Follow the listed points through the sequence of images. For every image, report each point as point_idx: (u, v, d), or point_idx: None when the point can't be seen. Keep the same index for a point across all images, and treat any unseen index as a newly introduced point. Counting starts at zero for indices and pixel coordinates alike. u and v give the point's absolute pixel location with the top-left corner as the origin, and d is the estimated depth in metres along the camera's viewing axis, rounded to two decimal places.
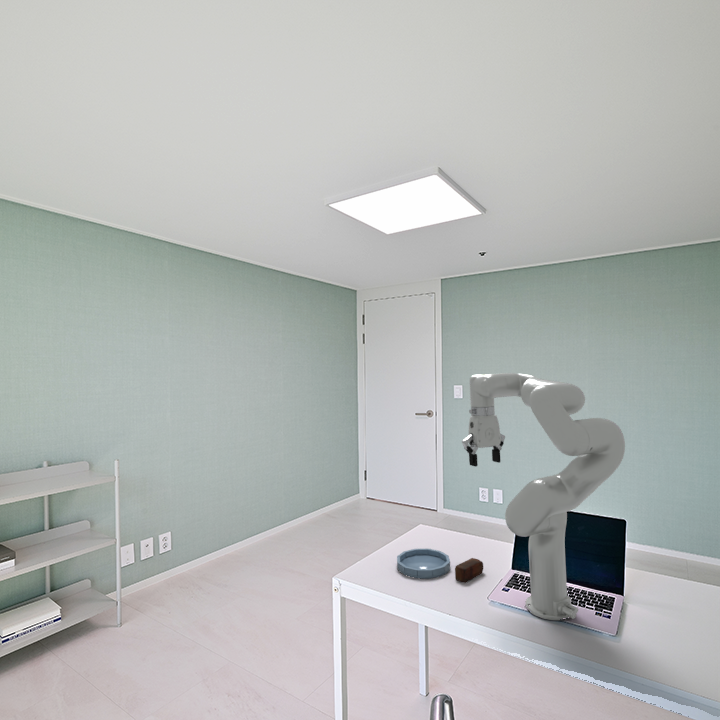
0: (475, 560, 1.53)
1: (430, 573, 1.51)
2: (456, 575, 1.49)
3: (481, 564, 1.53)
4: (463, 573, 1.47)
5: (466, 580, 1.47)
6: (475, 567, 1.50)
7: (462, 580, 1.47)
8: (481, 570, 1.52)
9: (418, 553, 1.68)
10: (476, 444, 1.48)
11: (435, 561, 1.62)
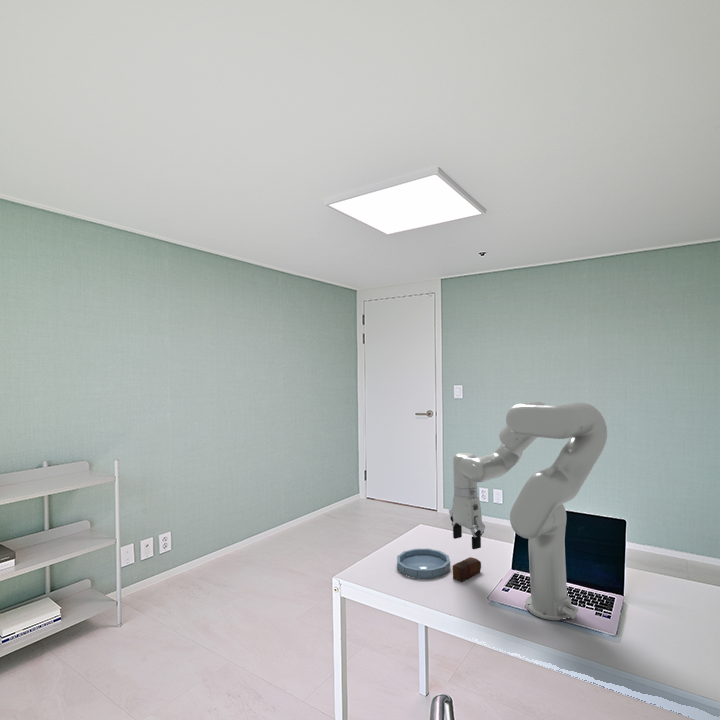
0: (473, 559, 1.54)
1: (430, 573, 1.51)
2: (453, 574, 1.49)
3: (479, 563, 1.53)
4: (460, 572, 1.48)
5: (463, 579, 1.48)
6: (473, 567, 1.51)
7: (459, 579, 1.48)
8: (479, 569, 1.53)
9: (418, 553, 1.68)
10: None
11: (435, 561, 1.62)
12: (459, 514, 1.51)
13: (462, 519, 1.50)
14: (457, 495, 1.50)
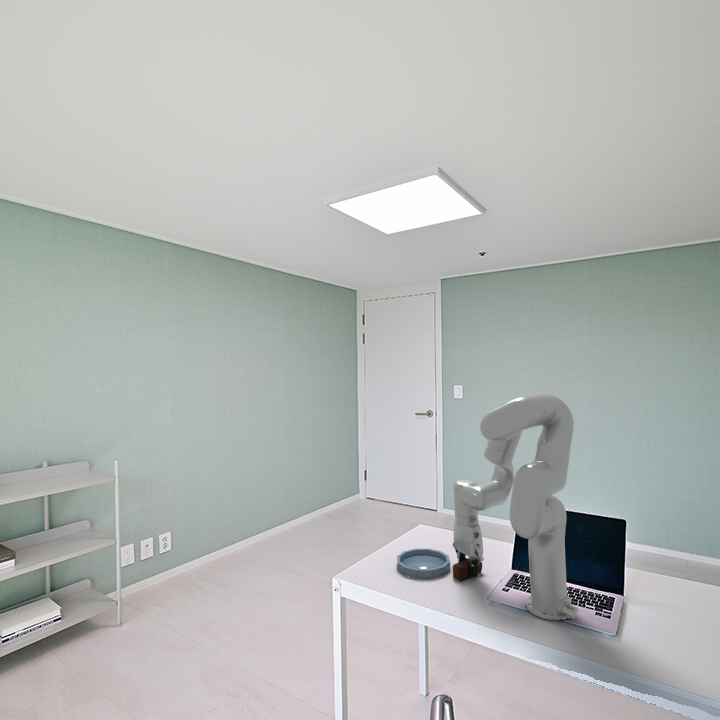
0: (474, 559, 1.53)
1: (430, 573, 1.51)
2: (454, 573, 1.49)
3: (480, 563, 1.53)
4: (460, 572, 1.47)
5: (463, 578, 1.47)
6: None
7: (459, 579, 1.47)
8: (480, 569, 1.52)
9: (418, 553, 1.68)
10: (482, 552, 1.48)
11: (435, 561, 1.62)
12: (460, 542, 1.51)
13: (463, 547, 1.50)
14: (458, 523, 1.50)
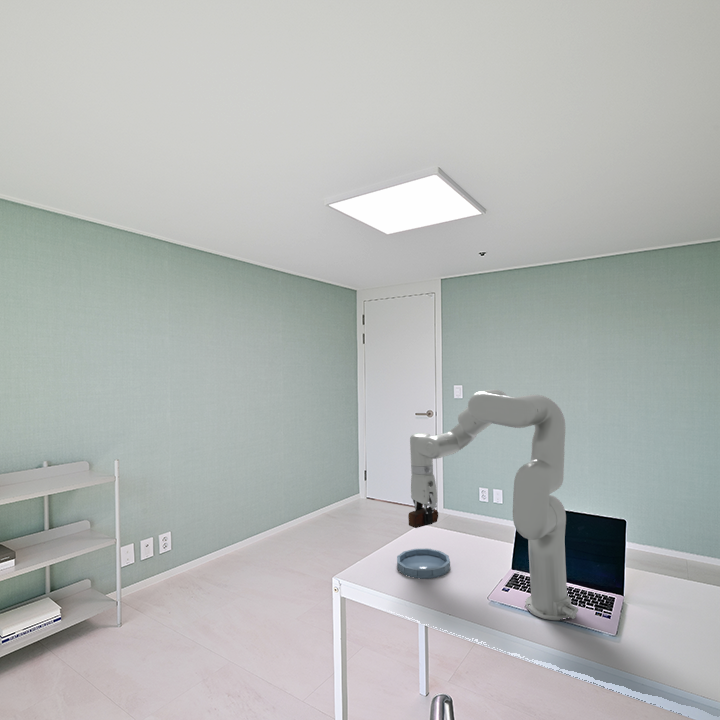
0: None
1: (430, 573, 1.51)
2: (409, 521, 1.57)
3: (436, 513, 1.60)
4: (414, 519, 1.55)
5: (418, 525, 1.55)
6: None
7: (414, 525, 1.56)
8: (435, 518, 1.60)
9: (418, 553, 1.68)
10: (436, 500, 1.56)
11: (435, 561, 1.62)
12: (416, 491, 1.59)
13: (419, 496, 1.58)
14: (413, 473, 1.58)
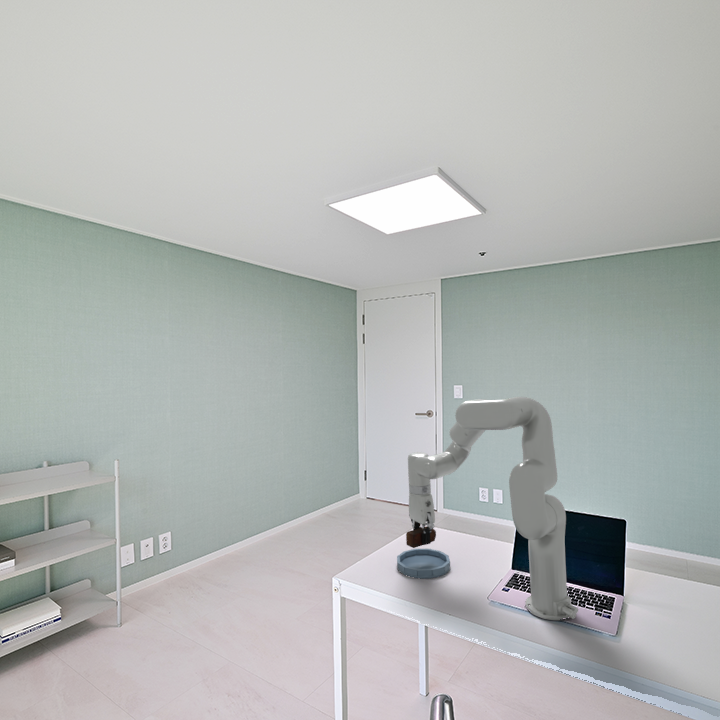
0: None
1: (430, 573, 1.51)
2: (407, 540, 1.58)
3: (433, 532, 1.61)
4: (412, 538, 1.56)
5: (415, 545, 1.56)
6: None
7: (411, 545, 1.56)
8: (433, 538, 1.61)
9: (418, 553, 1.68)
10: (434, 520, 1.56)
11: (435, 561, 1.62)
12: (414, 511, 1.59)
13: (416, 515, 1.58)
14: (411, 493, 1.58)
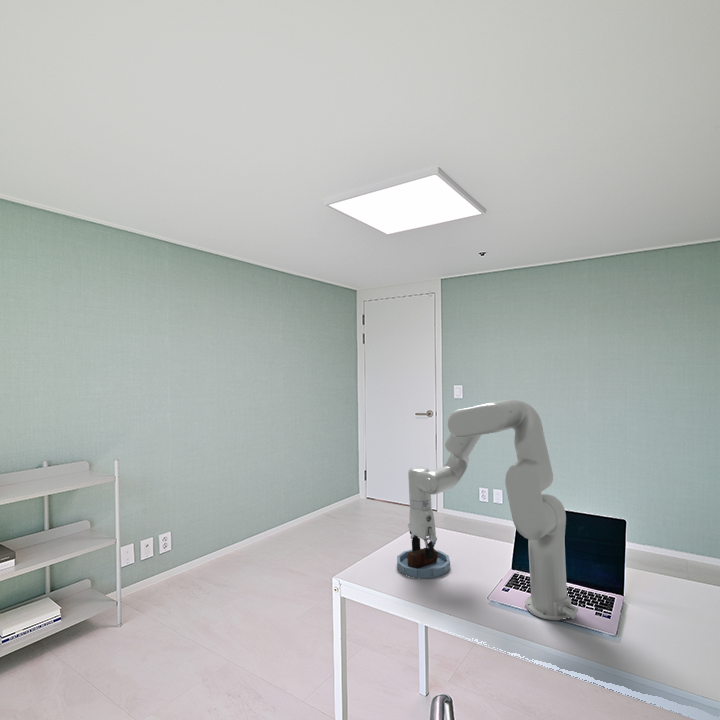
0: None
1: (430, 573, 1.51)
2: (408, 561, 1.58)
3: (435, 553, 1.60)
4: (413, 560, 1.56)
5: (416, 566, 1.56)
6: None
7: (412, 566, 1.56)
8: (435, 559, 1.60)
9: None
10: (434, 535, 1.56)
11: None
12: (415, 525, 1.59)
13: (417, 530, 1.58)
14: (412, 507, 1.58)
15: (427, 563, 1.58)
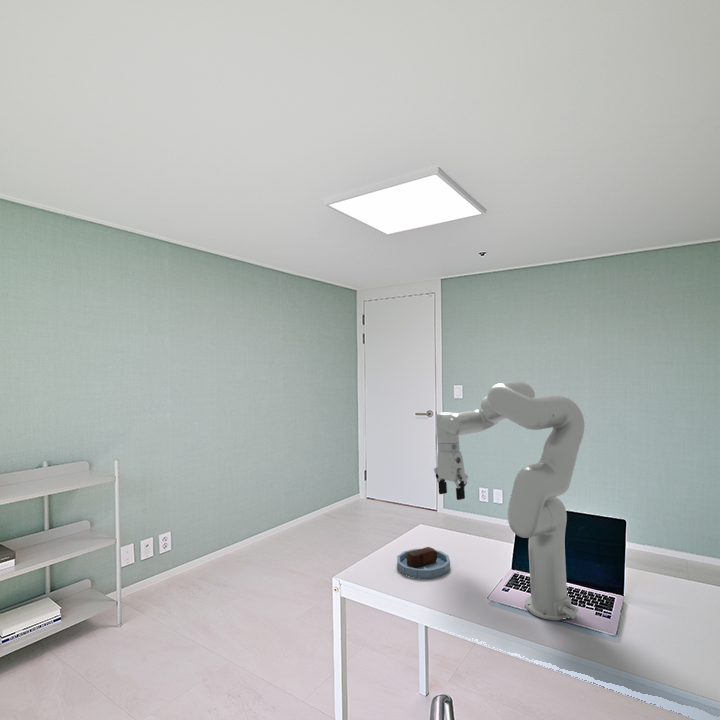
0: (429, 549, 1.61)
1: (430, 573, 1.51)
2: (407, 561, 1.58)
3: (434, 553, 1.60)
4: (412, 559, 1.56)
5: (415, 566, 1.56)
6: (427, 556, 1.59)
7: (411, 566, 1.56)
8: (434, 559, 1.60)
9: None
10: None
11: None
12: (443, 469, 1.61)
13: (446, 473, 1.60)
14: (441, 450, 1.60)
15: (426, 563, 1.58)
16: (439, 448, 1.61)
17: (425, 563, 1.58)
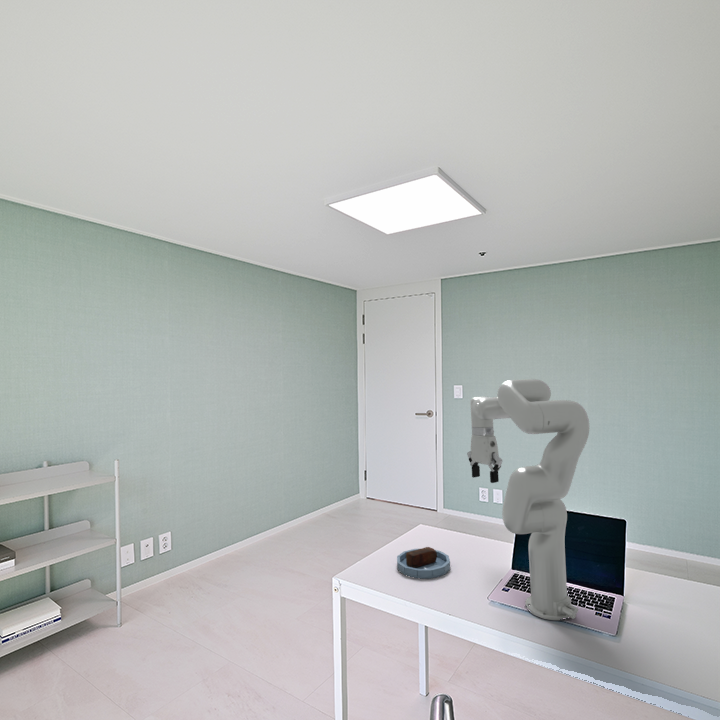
0: (429, 549, 1.61)
1: (430, 573, 1.51)
2: (407, 561, 1.58)
3: (434, 553, 1.60)
4: (411, 559, 1.56)
5: (415, 566, 1.56)
6: (427, 556, 1.59)
7: (411, 566, 1.56)
8: (434, 559, 1.60)
9: None
10: None
11: None
12: (477, 452, 1.63)
13: (480, 456, 1.62)
14: (475, 434, 1.62)
15: (426, 563, 1.58)
16: (473, 432, 1.63)
17: (424, 563, 1.58)
